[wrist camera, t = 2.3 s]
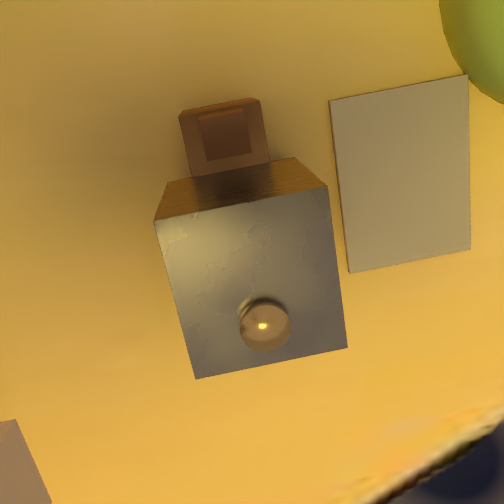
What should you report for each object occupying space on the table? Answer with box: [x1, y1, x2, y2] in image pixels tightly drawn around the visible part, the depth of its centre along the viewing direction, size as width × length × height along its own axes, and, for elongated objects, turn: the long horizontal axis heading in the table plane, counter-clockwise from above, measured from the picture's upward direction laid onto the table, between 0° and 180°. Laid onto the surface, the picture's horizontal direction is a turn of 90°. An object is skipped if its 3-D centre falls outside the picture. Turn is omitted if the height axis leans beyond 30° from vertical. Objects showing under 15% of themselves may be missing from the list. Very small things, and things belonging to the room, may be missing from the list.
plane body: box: [179, 98, 270, 177], centre depth 26 cm, size 13×4×8 cm, turn 10°
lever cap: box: [153, 157, 348, 379], centre depth 21 cm, size 7×6×8 cm
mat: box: [328, 74, 471, 274], centre depth 29 cm, size 11×8×1 cm
